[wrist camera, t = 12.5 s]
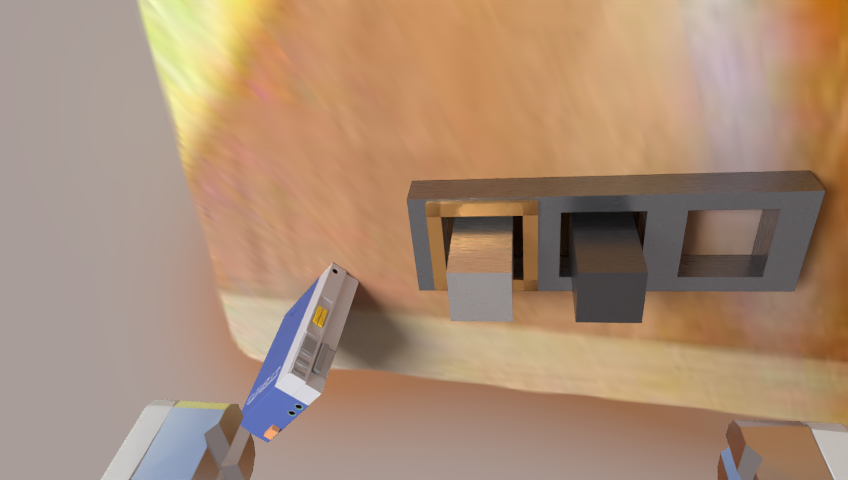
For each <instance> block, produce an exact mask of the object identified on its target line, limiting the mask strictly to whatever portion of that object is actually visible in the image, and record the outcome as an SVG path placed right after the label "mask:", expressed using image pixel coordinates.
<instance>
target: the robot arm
mask: <svg viewBox="0 0 848 480" xmlns="http://www.w3.org/2000/svg"><path fill="white" fill-rule="evenodd" d="M243 417H244V416H243V414H242V412H241V410H240V408H239V405H238V404H227V403H210V402H194V401H177V400H156V399H155V400H153V401H152V402H151V403H150V404H148V405H147V406H146V407H145V409H144V410H143V412H142V413H141V415H140V417H139V418H138V420H137V422H136V423H135V425H134V426H133V428H132V430H131V431H130V433H129V435H128V436H127V438H126V439H125V441H124V443H123V444H122V446H121V447H120V449H119V451H118V452H117V454H116V456H115V457H114V459H113V461H112V462H111V464H110V465H109V467H108V468H107V470H106V472H105V473H104V475H103V477H102V478H101V480H250V477H251V474H252V472H253V466H254V459H255V447H254V441H253V438H252V436H251V433H250V432H249V431H247V430H246V429H245V428H243V427H242V426H241V425H240V424H241V422H242V419H243ZM726 438H727V441H728V444H729V448H727V449H726V450H724V451H723V452H721V453H720V458H719V462H718V480H848V430H847V429H846V428H845V427H844V426H843V425H842V424H837V423H808V422H804V423H801V422H800V421H755V420H754V421H751V420H733V421H732V422H731V423H730V424H729V426H728V429H727V432H726Z"/></svg>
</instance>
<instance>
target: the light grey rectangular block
mask: <svg viewBox="0 0 848 480" xmlns="http://www.w3.org/2000/svg"><path fill="white" fill-rule="evenodd" d="M513 271H514V232H513V216H471V217H455V219H454V225H453V232H452V238H451V244H450V251H449V257H448V264H447V270H446V277H447V287H448V297H449V307H450V316H451V321H501V322H513Z"/></svg>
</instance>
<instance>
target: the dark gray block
mask: <svg viewBox="0 0 848 480" xmlns="http://www.w3.org/2000/svg"><path fill="white" fill-rule="evenodd" d="M568 252H569V262H570V271H571V281H572V291H573V301H574V310H575V320H576V322H606V323H642V316H643V309H644V301H645V293H646V286H647V278H648V270H647V266H646V262H645V258H644V255H643V251H642V247H641V243H640V239H639V236H638V232H637V228H636V224H635V221H634V217H633V213H632V211H622V212H569V236H568Z"/></svg>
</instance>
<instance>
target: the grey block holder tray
mask: <svg viewBox="0 0 848 480" xmlns="http://www.w3.org/2000/svg"><path fill="white" fill-rule="evenodd" d="M824 194H825V189H824V188H823V187H822V186H821V184H820V183H819V182H818V180H817V179H816V178H815V176H814V175H813V174H812V172H811V171H780V172H742V173H704V174H665V175H627V176H588V177H550V178H511V179H473V180H434V181H412V183H411V186H410V190H409V193H408V197H407V205H408V212H409V219H410V227H411V234H412V241H413V248H414V256H415V263H416V270H417V277H418V284H419V290H448V287H447V277H446V270H447V264H448V257H449V251H450V243H449V233H448V223H447V217H471V216H523V256H514V271H513V291H572V281H571V271H570V262H569V256H560V229H561V213H563V212H622V211H639V219H638V228H637V232H638V236H639V239H640V243H641V247H642V251H643V255H644V258H645V262H646V266H647V270H648V278H647V286H646V291H794V290H795V287H796V284H797V281H798V278H799V274H800V271H801V268H802V265H803V262H804V258H805V255H806V252H807V249H808V245H809V242H810V239H811V236H812V233H813V229H814V226H815V223H816V220H817V217H818V213H819V210H820V207H821V204H822V201H823V197H824ZM740 209H763V211H762V215H761V219H760V223H759V227H758V231H757V235H756V239H755V243H754V247H753V251H752V255H681V252H682V246H683V240H684V234H685V228H686V222H687V216H688V210H740Z"/></svg>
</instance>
